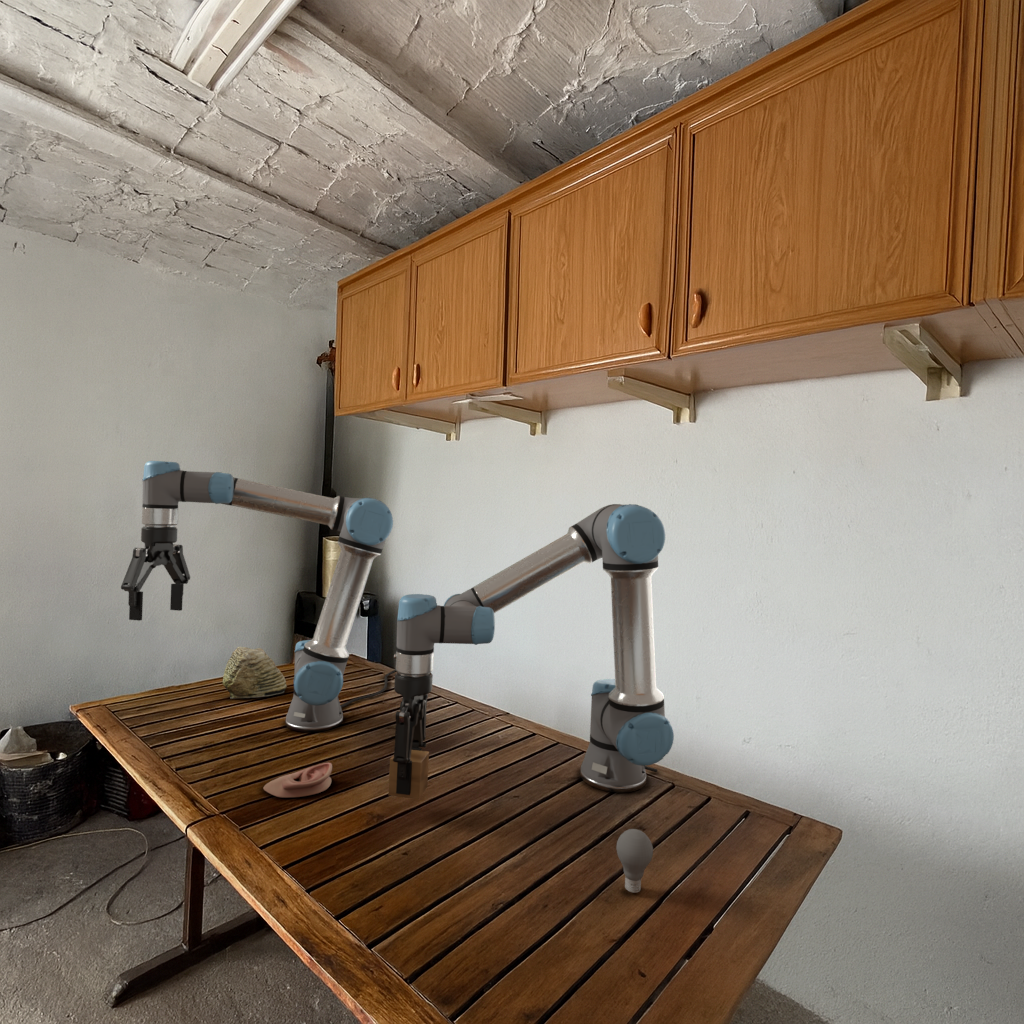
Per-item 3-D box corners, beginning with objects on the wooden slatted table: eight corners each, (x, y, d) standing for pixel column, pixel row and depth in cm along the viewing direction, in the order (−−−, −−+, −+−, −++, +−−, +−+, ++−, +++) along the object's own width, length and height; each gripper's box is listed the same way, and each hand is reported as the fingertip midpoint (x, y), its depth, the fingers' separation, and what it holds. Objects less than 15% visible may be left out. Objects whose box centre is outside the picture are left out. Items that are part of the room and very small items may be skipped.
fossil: (218, 695, 195) (220, 647, 195) (278, 685, 208) (279, 640, 207) (228, 703, 189) (230, 653, 188) (289, 692, 201) (290, 645, 201)
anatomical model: (255, 775, 133) (285, 754, 145) (254, 793, 133) (285, 771, 145) (313, 783, 131) (339, 761, 142) (312, 802, 131) (338, 779, 142)
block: (397, 783, 131) (399, 748, 131) (427, 786, 130) (429, 751, 130) (388, 795, 125) (389, 758, 125) (419, 799, 124) (420, 762, 124)
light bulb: (610, 879, 108) (613, 822, 108) (644, 879, 109) (647, 822, 109) (619, 902, 102) (622, 840, 102) (655, 901, 103) (658, 840, 103)
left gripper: (180, 523, 164) (178, 605, 164) (104, 527, 139) (101, 623, 139) (207, 525, 163) (204, 607, 163) (134, 528, 138) (131, 625, 138)
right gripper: (410, 659, 137) (405, 765, 137) (379, 683, 119) (373, 805, 119) (444, 662, 136) (439, 769, 136) (417, 687, 117) (411, 810, 118)
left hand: (156, 614), depth 151 cm, fingers open, 13 cm apart
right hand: (408, 786), depth 128 cm, fingers closed on block, 6 cm apart
